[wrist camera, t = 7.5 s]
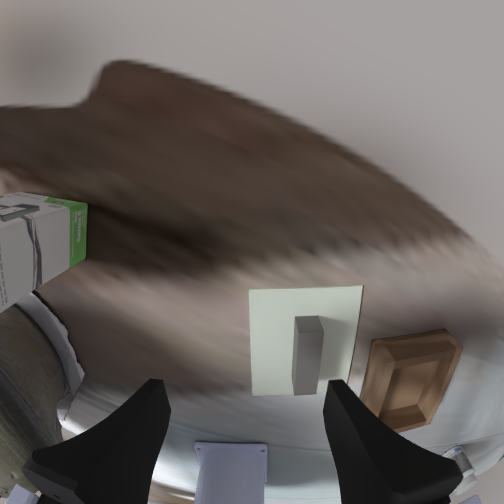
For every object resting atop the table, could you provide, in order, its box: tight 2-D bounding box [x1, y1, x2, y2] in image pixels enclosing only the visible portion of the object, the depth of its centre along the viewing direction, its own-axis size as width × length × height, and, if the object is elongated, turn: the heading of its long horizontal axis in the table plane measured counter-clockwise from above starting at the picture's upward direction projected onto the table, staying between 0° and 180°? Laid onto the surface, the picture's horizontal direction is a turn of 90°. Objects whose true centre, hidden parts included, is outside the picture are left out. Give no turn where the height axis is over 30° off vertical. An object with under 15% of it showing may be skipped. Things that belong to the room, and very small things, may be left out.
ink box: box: [0, 192, 88, 313], centre depth 14 cm, size 9×5×12 cm, turn 78°
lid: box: [249, 285, 363, 396], centre depth 21 cm, size 11×9×3 cm
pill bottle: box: [442, 446, 478, 496], centre depth 25 cm, size 5×5×8 cm
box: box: [359, 329, 463, 433], centre depth 22 cm, size 10×8×3 cm
